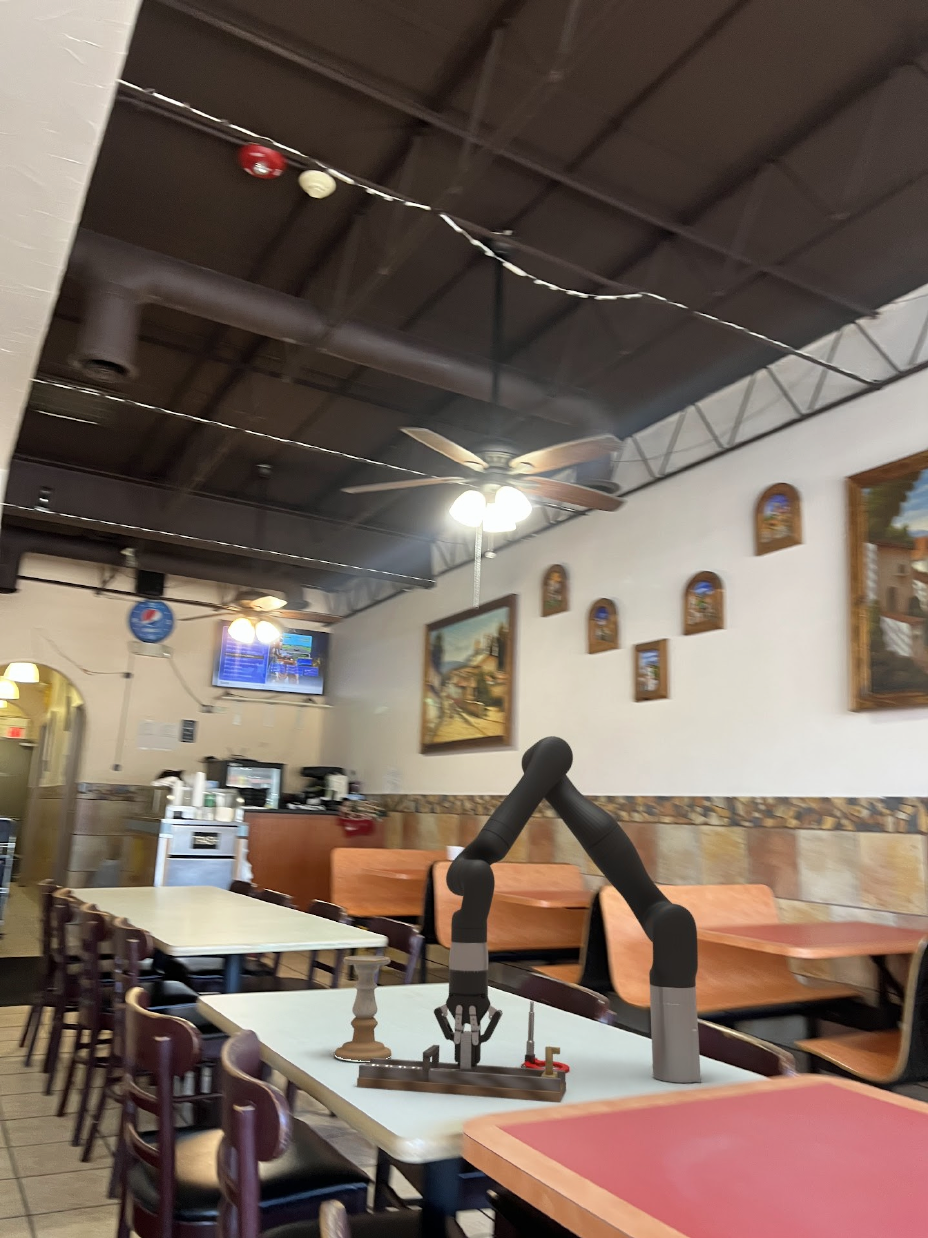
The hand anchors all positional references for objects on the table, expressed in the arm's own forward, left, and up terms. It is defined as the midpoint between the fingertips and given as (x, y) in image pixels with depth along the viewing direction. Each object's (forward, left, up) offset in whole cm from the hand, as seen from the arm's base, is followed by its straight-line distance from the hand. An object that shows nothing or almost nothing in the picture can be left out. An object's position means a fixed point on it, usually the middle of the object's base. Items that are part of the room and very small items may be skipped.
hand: (467, 1065), depth 167 cm
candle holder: (+28, -22, -4) cm, 36 cm away
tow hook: (-12, -22, -4) cm, 25 cm away
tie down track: (+1, 0, -4) cm, 4 cm away
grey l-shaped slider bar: (+10, 0, -2) cm, 10 cm away
